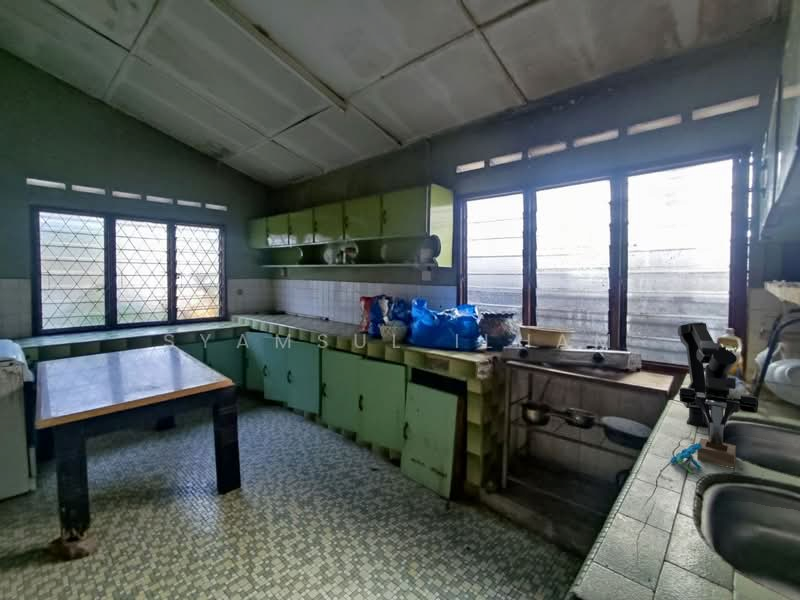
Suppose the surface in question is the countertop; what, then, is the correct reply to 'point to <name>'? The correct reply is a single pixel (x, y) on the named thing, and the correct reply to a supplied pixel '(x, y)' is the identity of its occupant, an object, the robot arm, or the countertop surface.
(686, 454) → the blue lumpy figure
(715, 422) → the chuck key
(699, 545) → the countertop surface
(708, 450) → the key holder
